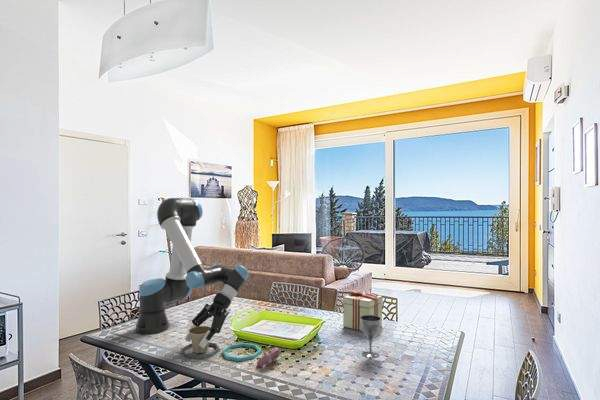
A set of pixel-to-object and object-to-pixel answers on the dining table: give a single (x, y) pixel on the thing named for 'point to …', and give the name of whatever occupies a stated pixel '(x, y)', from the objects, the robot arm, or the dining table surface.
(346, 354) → the dining table surface
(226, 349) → the collar
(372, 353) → the wine glass
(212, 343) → the collar
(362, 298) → the gift box
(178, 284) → the robot arm
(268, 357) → the pink toy animal
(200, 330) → the flower pot
